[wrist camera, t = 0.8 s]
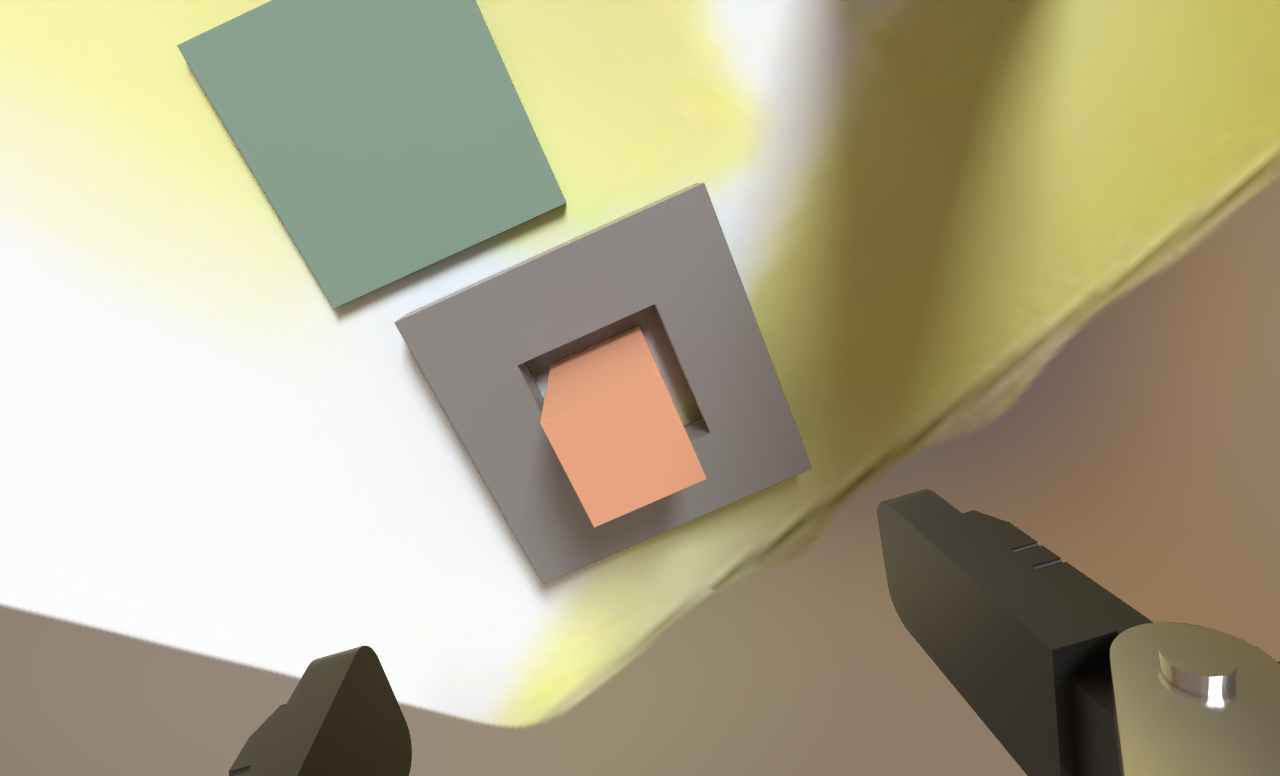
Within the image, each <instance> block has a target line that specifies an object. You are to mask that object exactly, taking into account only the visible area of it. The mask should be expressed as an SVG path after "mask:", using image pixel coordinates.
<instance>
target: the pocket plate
mask: <svg viewBox="0 0 1280 776" xmlns="http://www.w3.org/2000/svg"><path fill="white" fill-rule="evenodd" d="M652 305H654V306H655V309H656V311H657V313H658V316H659V318H660V320H661V323H662V325H663V327H664V330H665V332H666V334H667V337H668V339H669V341H670V344H671V346H672V348H673V351H674V353H675V355H676V358H677V360H678V362H679V365H680V367H681V369H682V372H683V374H684V376H685V379H686V381H687V383H688V386H689V388H690V390H691V393H692V395H693V398H694V400H695V402H696V405H697V407H698V409H699V412H700V414H701V416H702V419H700V420H698V421H695V422H693V423H691V424H688V425H686V426H684V428H685V430H686V433H687V435H688V437H689V439H690V442H691V444H692V446H693V448H694V451H695V453H696V455H697V458H698V460H699V462H700V464H701V467H702V469H703V471H704V473H705V476H706V478H707V479H705V480H703V481H701V482H698V483H696V484H694V485H691V486H689V487H687V488H685V489H682V490H680V491H678V492H675V493H673V494H671V495H668V496H666V497H664V498H661V499H659V500H657V501H654V502H652V503H650V504H648V505H645V506H643V507H641V508H638V509H636V510H634V511H631V512H629V513H627V514H624V515H622V516H620V517H617V518H615V519H613V520H611V521H608V522H606V523H604V524H601V525H599V526H597V527H594V526H593V524H592V522H591V520H590V518H589V516H588V515H587V513H586V511H585V509H584V507H583V505H582V503H581V501H580V499H579V497H578V495H577V493H576V491H575V489H574V488H573V486H572V484H571V482H570V480H569V478H568V476H567V474H566V472H565V470H564V468H563V466H562V464H561V462H560V461H559V459H558V457H557V455H556V453H555V451H554V449H553V447H552V445H551V443H550V441H549V439H548V437H547V435H546V434H545V432H544V430H543V428H542V426H541V424H540V421H541V415H542V410H543V404H544V398H543V396H542V394H541V392H540V390H539V388H538V386H537V384H536V382H535V380H534V378H533V376H532V374H531V372H530V370H529V368H528V366H527V365H526V363H525V362H526V361H528V360H531V359H533V358H535V357H537V356H540V355H542V354H544V353H546V352H549V351H551V350H553V349H555V348H558V347H560V346H562V345H564V344H567V343H569V342H571V341H573V340H576V339H578V338H580V337H582V336H585V335H587V334H589V333H591V332H594V331H596V330H598V329H600V328H603V327H605V326H607V325H609V324H612V323H614V322H616V321H618V320H621V319H623V318H625V317H627V316H630V315H632V314H634V313H636V312H639V311H641V310H643V309H645V308H648V307H650V306H652ZM395 324H396V326H397V328H398V330H399V332H400V333H401V335H402V337H403V339H404V340H405V342H406V344H407V346H408V347H409V349H410V351H411V353H412V354H413V356H414V358H415V360H416V361H417V363H418V365H419V367H420V369H421V370H422V372H423V374H424V376H425V377H426V379H427V381H428V383H429V384H430V386H431V388H432V390H433V391H434V393H435V395H436V397H437V398H438V400H439V402H440V404H441V406H442V407H443V409H444V411H445V413H446V414H447V416H448V418H449V420H450V421H451V423H452V425H453V427H454V428H455V430H456V432H457V434H458V436H459V437H460V439H461V441H462V443H463V444H464V446H465V448H466V450H467V451H468V453H469V455H470V457H471V458H472V460H473V462H474V464H475V465H476V467H477V469H478V471H479V473H480V474H481V476H482V478H483V480H484V481H485V483H486V485H487V487H488V488H489V490H490V492H491V494H492V495H493V497H494V499H495V501H496V502H497V504H498V506H499V508H500V510H501V511H502V513H503V515H504V517H505V518H506V520H507V522H508V524H509V525H510V527H511V529H512V531H513V532H514V534H515V536H516V538H517V539H518V541H519V543H520V545H521V547H522V548H523V550H524V552H525V554H526V555H527V557H528V559H529V561H530V562H531V564H532V566H533V568H534V569H535V571H536V573H537V575H538V577H539V578H540V580H541V582H542V584H545V583H547V582H549V581H552V580H554V579H556V578H559V577H561V576H563V575H566V574H568V573H570V572H572V571H575V570H577V569H579V568H582V567H584V566H586V565H589V564H591V563H593V562H596V561H598V560H600V559H603V558H605V557H607V556H610V555H612V554H614V553H617V552H619V551H621V550H624V549H626V548H628V547H631V546H633V545H635V544H638V543H640V542H642V541H644V540H647V539H649V538H651V537H654V536H656V535H658V534H661V533H663V532H665V531H668V530H670V529H672V528H675V527H677V526H679V525H682V524H684V523H686V522H689V521H691V520H693V519H696V518H698V517H700V516H703V515H705V514H707V513H709V512H712V511H714V510H716V509H719V508H721V507H723V506H726V505H728V504H730V503H733V502H735V501H737V500H740V499H742V498H744V497H747V496H749V495H751V494H754V493H756V492H758V491H761V490H763V489H765V488H768V487H770V486H772V485H775V484H777V483H779V482H781V481H784V480H786V479H788V478H791V477H793V476H795V475H798V474H800V473H802V472H805V471H807V470H809V469H812V468H811V465H810V462H809V460H808V457H807V454H806V452H805V449H804V446H803V444H802V441H801V438H800V436H799V433H798V430H797V428H796V425H795V423H794V420H793V417H792V415H791V412H790V409H789V407H788V404H787V401H786V399H785V396H784V393H783V391H782V388H781V385H780V383H779V380H778V377H777V375H776V372H775V370H774V367H773V364H772V362H771V359H770V356H769V354H768V351H767V348H766V346H765V343H764V340H763V338H762V335H761V332H760V330H759V327H758V325H757V322H756V319H755V317H754V314H753V311H752V309H751V306H750V303H749V301H748V298H747V295H746V293H745V290H744V287H743V285H742V282H741V279H740V277H739V274H738V272H737V269H736V266H735V264H734V261H733V258H732V256H731V253H730V250H729V248H728V245H727V242H726V240H725V237H724V234H723V232H722V229H721V226H720V224H719V221H718V219H717V216H716V213H715V211H714V208H713V205H712V203H711V200H710V197H709V195H708V192H707V189H706V187H705V184H704V183H697V184H694V185H692V186H689V187H687V188H685V189H683V190H680V191H678V192H676V193H674V194H672V195H669V196H667V197H665V198H663V199H661V200H658V201H656V202H654V203H652V204H649V205H647V206H645V207H643V208H641V209H638V210H636V211H634V212H632V213H630V214H627V215H625V216H623V217H621V218H618V219H616V220H614V221H612V222H610V223H607V224H605V225H603V226H601V227H599V228H596V229H594V230H592V231H590V232H587V233H585V234H583V235H581V236H579V237H576V238H574V239H572V240H570V241H568V242H565V243H563V244H561V245H559V246H556V247H554V248H552V249H550V250H548V251H545V252H543V253H541V254H539V255H537V256H534V257H532V258H530V259H528V260H526V261H523V262H521V263H519V264H517V265H514V266H512V267H510V268H508V269H506V270H503V271H501V272H499V273H497V274H495V275H492V276H490V277H488V278H486V279H483V280H481V281H479V282H477V283H475V284H472V285H470V286H468V287H466V288H464V289H461V290H459V291H457V292H455V293H452V294H450V295H448V296H446V297H444V298H441V299H439V300H437V301H435V302H433V303H430V304H428V305H426V306H424V307H421V308H419V309H417V310H415V311H413V312H410V313H408V314H406V315H405V316H403V317H402V318H400V319H399V320H398V321H396V322H395Z"/></svg>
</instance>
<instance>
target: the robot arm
mask: <svg viewBox="0 0 1280 776" xmlns="http://www.w3.org/2000/svg"><path fill="white" fill-rule="evenodd" d="M877 514H878V522H879V529H880V535H881V541H882V549H883V555H884V561H885V568H886V574H887V581H888V587H889V592H890V595H891V598H892V601H893V604H894V607H895V609H896V611H897V613H898V615H899V617H900V619H901V621H902V622H903V624H904V626H905V627H906V628H907V630H908V631H909V632H910V633H911V635H912V636H913V637H914V638H915V639H916V641H917V642H918V643H919V644H920V646H921V647H922V648H923V649H924V650H925V651H926V653H927V654H928V655H929V656H930V658H931V659H932V660H933V661H934V663H935V664H936V665H937V666H938V667H939V669H940V670H941V671H942V672H943V673H944V675H945V676H946V677H947V678H948V679H949V681H950V682H951V683H952V684H953V686H954V687H955V688H956V689H957V690H958V692H959V693H960V694H961V695H962V696H963V698H964V699H965V700H966V701H967V702H968V704H969V705H970V706H971V707H972V709H973V710H974V711H975V712H976V713H977V715H978V716H979V717H980V718H981V720H982V721H983V722H984V723H985V724H986V726H987V727H988V728H989V729H990V731H991V732H992V733H993V734H994V735H995V737H996V738H997V739H998V740H999V741H1000V743H1001V744H1002V745H1003V746H1004V747H1005V749H1006V750H1007V751H1008V752H1009V754H1010V755H1011V756H1012V757H1013V758H1014V759H1015V761H1016V762H1017V763H1018V765H1019V766H1020V767H1021V768H1022V769H1023V771H1024V772H1025V773H1026V774H1027V776H1280V662H1277V661H1276V660H1275V659H1273V658H1272V657H1271V656H1270V655H1268V654H1267V653H1265V652H1264V651H1262V650H1261V649H1259V648H1258V647H1256V646H1254V645H1252V644H1250V643H1248V642H1246V641H1244V640H1242V639H1240V638H1237V637H1235V636H1233V635H1230V634H1227V633H1224V632H1221V631H1218V630H1215V629H1211V628H1207V627H1203V626H1199V625H1193V624H1186V623H1175V622H1155V623H1154V622H1152V621H1151V620H1149V619H1148V618H1146V617H1145V616H1143V615H1142V614H1140V613H1139V612H1137V611H1136V610H1135V609H1133V608H1132V607H1130V606H1129V605H1127V604H1126V603H1125V602H1123V601H1122V600H1120V599H1119V598H1117V597H1116V596H1115V595H1113V594H1112V593H1110V592H1109V591H1107V590H1106V589H1104V588H1103V587H1102V586H1100V585H1099V584H1097V583H1096V582H1094V581H1093V580H1091V579H1090V578H1089V577H1087V576H1086V575H1084V574H1083V573H1081V572H1080V571H1078V570H1077V569H1076V568H1074V567H1073V566H1071V565H1070V564H1068V563H1067V562H1065V563H1062V562H1061V560H1060V557H1058V556H1057V555H1055V554H1054V553H1052V552H1051V551H1050V550H1048V549H1047V548H1045V547H1044V546H1038V544H1037V541H1035V540H1034V539H1032V538H1031V537H1030V536H1028V535H1026V534H1025V533H1024V532H1022V531H1021V530H1019V529H1018V528H1017V527H1015V526H1013V525H1012V524H1011V523H1009V522H1006V521H1003V520H1000V519H997V518H994V517H991V516H989V515H985V514H983V513H980V512H977V511H974V510H973V511H970V512H966V513H963V514H962V513H961V512H960V511H958V510H957V509H956V508H954V507H953V506H952V505H950V504H949V503H948V502H946V501H945V500H944V499H942V498H941V497H939V496H938V495H937V494H936V493H934V492H933V491H931V490H929V489H925V490H922V491H918V492H914V493H911V494H907V495H903V496H900V497H897V498H893V499H889V500H886V501H882V502H880V504H879V505H878V510H877ZM411 757H412V749H411V740H410V733H409V729H408V726H407V723H406V721H405V719H404V716H403V714H402V712H401V709H400V707H399V705H398V702H397V700H396V698H395V696H394V693H393V691H392V689H391V686H390V684H389V682H388V680H387V677H386V675H385V673H384V670H383V668H382V666H381V663H380V661H379V659H378V657H377V655H376V653H375V652H374V651H373V649H372V648H370V647H369V646H362V647H358V648H354V649H351V650H347V651H344V652H340V653H337V654H333V655H330V656H326V657H322V658H319V659H316V660H314V661H313V662H311V663H310V665H309V666H308V668H307V670H306V671H305V673H304V675H303V677H302V678H301V680H300V682H299V684H298V685H297V687H296V689H295V691H294V692H293V694H292V696H291V698H290V700H289V701H288V703H287V704H284V705H281V706H280V707H279V708H278V709H277V710H276V711H275V712H274V713H273V714H272V715H271V716H270V717H269V718H268V719H267V720H266V721H265V722H264V723H263V724H262V725H261V726H260V727H259V728H258V729H257V730H256V731H255V732H254V733H253V735H251V736H250V738H249V739H248V741H247V742H246V744H245V745H244V747H243V749H242V750H241V752H240V754H239V755H238V757H237V759H236V760H235V762H234V764H233V765H232V767H231V769H230V770H229V776H409V772H410V767H411Z"/></svg>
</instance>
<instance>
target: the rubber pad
mask: <svg viewBox="0 0 1280 776" xmlns="http://www.w3.org/2000/svg"><path fill="white" fill-rule="evenodd" d="M177 47H178V48H179V50H180V52H181V53H182V55H183V57H184V58H185V60H186V62H187V63H188V65H189V67H190V68H191V70H192V72H193V73H194V75H195V77H196V78H197V80H198V82H199V83H200V85H201V87H202V89H203V90H204V92H205V94H206V95H207V97H208V99H209V100H210V102H211V104H212V105H213V107H214V109H215V110H216V112H217V114H218V115H219V117H220V119H221V120H222V122H223V124H224V126H225V127H226V129H227V131H228V132H229V134H230V136H231V137H232V139H233V141H234V142H235V144H236V146H237V147H238V149H239V151H240V152H241V154H242V156H243V157H244V159H245V161H246V162H247V164H248V166H249V168H250V169H251V171H252V173H253V174H254V176H255V178H256V179H257V181H258V183H259V184H260V186H261V188H262V189H263V191H264V193H265V194H266V196H267V198H268V199H269V201H270V203H271V205H272V206H273V208H274V210H275V211H276V213H277V215H278V216H279V218H280V220H281V221H282V223H283V225H284V226H285V228H286V230H287V231H288V233H289V235H290V236H291V238H292V240H293V241H294V243H295V245H296V247H297V248H298V250H299V252H300V253H301V255H302V257H303V258H304V260H305V262H306V263H307V265H308V267H309V268H310V270H311V272H312V273H313V275H314V277H315V278H316V280H317V282H318V284H319V285H320V287H321V289H322V290H323V292H324V294H325V295H326V297H327V299H328V300H329V302H330V304H331V305H332V307H333V309H334V308H336V307H338V306H340V305H343V304H345V303H347V302H349V301H351V300H354V299H356V298H358V297H360V296H362V295H365V294H367V293H369V292H371V291H373V290H376V289H378V288H380V287H382V286H385V285H387V284H389V283H391V282H393V281H396V280H398V279H400V278H402V277H404V276H407V275H409V274H411V273H413V272H415V271H418V270H420V269H422V268H424V267H426V266H429V265H431V264H433V263H435V262H437V261H440V260H442V259H444V258H446V257H448V256H451V255H453V254H455V253H457V252H459V251H462V250H464V249H466V248H468V247H470V246H473V245H475V244H477V243H479V242H481V241H484V240H486V239H488V238H490V237H492V236H495V235H497V234H499V233H501V232H503V231H506V230H508V229H510V228H512V227H514V226H517V225H519V224H521V223H523V222H525V221H528V220H530V219H532V218H534V217H536V216H539V215H541V214H543V213H545V212H547V211H550V210H552V209H554V208H556V207H558V206H561V205H563V204H565V203H566V201H565V199H564V197H563V194H562V192H561V190H560V188H559V186H558V183H557V181H556V179H555V177H554V174H553V172H552V170H551V168H550V165H549V163H548V161H547V159H546V157H545V154H544V152H543V150H542V148H541V145H540V143H539V141H538V139H537V137H536V134H535V132H534V130H533V128H532V125H531V123H530V121H529V119H528V117H527V114H526V112H525V110H524V108H523V105H522V103H521V101H520V99H519V96H518V94H517V92H516V90H515V88H514V85H513V83H512V81H511V79H510V76H509V74H508V72H507V70H506V68H505V65H504V63H503V61H502V59H501V56H500V54H499V52H498V50H497V47H496V45H495V43H494V41H493V39H492V36H491V34H490V32H489V30H488V27H487V25H486V23H485V21H484V19H483V16H482V14H481V12H480V10H479V7H478V5H477V3H476V1H475V0H272V1H270V2H268V3H265V4H263V5H261V6H259V7H257V8H255V9H253V10H251V11H249V12H247V13H244V14H242V15H240V16H238V17H236V18H234V19H232V20H230V21H228V22H225V23H223V24H221V25H219V26H217V27H215V28H213V29H211V30H209V31H207V32H204V33H202V34H200V35H198V36H196V37H194V38H192V39H190V40H188V41H186V42H183V43H181V44H179V45H177Z"/></svg>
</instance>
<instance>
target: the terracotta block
mask: <svg viewBox="0 0 1280 776" xmlns="http://www.w3.org/2000/svg"><path fill="white" fill-rule="evenodd" d="M540 424H541V426H542V428H543V430H544V432H545V434H546V435H547V437H548V439H549V441H550V443H551V445H552V447H553V449H554V451H555V453H556V455H557V457H558V459H559V461H560V462H561V464H562V466H563V468H564V470H565V472H566V474H567V476H568V478H569V480H570V482H571V484H572V486H573V488H574V489H575V491H576V493H577V495H578V497H579V499H580V501H581V503H582V505H583V507H584V509H585V511H586V513H587V515H588V516H589V518H590V520H591V522H592V524H593V526H594V527H597V526H599V525H601V524H604V523H606V522H608V521H611V520H613V519H615V518H617V517H620V516H622V515H624V514H627V513H629V512H631V511H634V510H636V509H638V508H641V507H643V506H645V505H648V504H650V503H652V502H654V501H657V500H659V499H661V498H664V497H666V496H668V495H671V494H673V493H675V492H678V491H680V490H682V489H685V488H687V487H689V486H691V485H694V484H696V483H698V482H701V481H703V480H705V479H707V478H706V476H705V473H704V471H703V469H702V467H701V464H700V462H699V460H698V458H697V455H696V453H695V451H694V448H693V446H692V444H691V442H690V439H689V437H688V435H687V433H686V430H685V428H684V426H683V423H682V421H681V419H680V417H679V414H678V412H677V410H676V408H675V405H674V403H673V401H672V398H671V396H670V394H669V392H668V389H667V387H666V385H665V383H664V380H663V378H662V376H661V373H660V371H659V369H658V367H657V364H656V362H655V360H654V358H653V355H652V353H651V351H650V349H649V346H648V344H647V342H646V340H645V337H644V335H643V333H642V331H641V329H640V326H639V325H638V326H636V327H634V328H632V329H629V330H627V331H625V332H623V333H620V334H618V335H616V336H614V337H611V338H609V339H607V340H605V341H602V342H600V343H598V344H596V345H593V346H591V347H589V348H587V349H584V350H582V351H580V352H578V353H575V354H573V355H571V356H569V357H566V358H564V359H562V360H560V361H557V362H555V363H553V364H551V365H550V371H549V376H548V382H547V387H546V393H545V399H544V404H543V410H542V415H541V421H540Z"/></svg>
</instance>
